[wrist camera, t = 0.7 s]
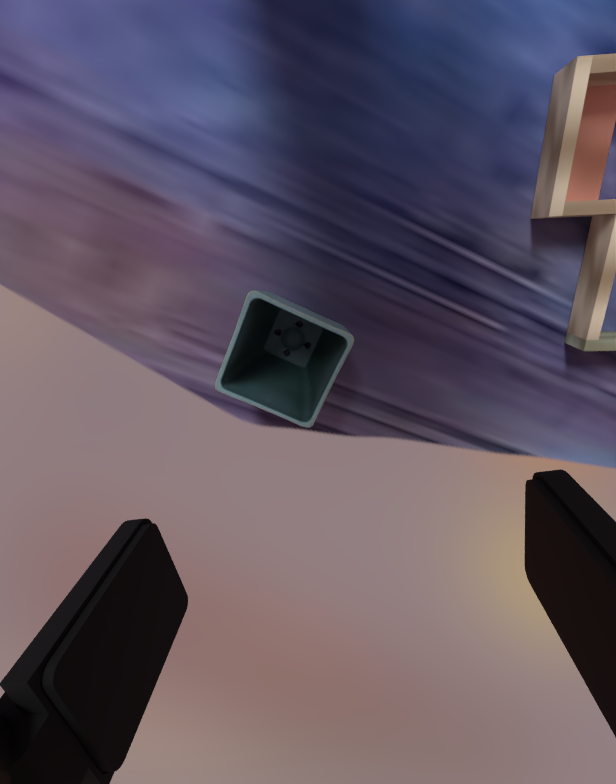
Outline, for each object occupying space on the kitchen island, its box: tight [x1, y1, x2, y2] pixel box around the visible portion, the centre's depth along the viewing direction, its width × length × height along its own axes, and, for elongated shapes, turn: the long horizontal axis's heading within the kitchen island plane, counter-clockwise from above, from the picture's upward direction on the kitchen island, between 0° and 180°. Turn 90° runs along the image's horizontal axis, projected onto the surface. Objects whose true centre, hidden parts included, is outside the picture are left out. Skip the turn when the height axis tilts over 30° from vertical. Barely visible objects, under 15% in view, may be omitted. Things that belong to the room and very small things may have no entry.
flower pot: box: [215, 290, 354, 428], centre depth 33 cm, size 9×9×9 cm
